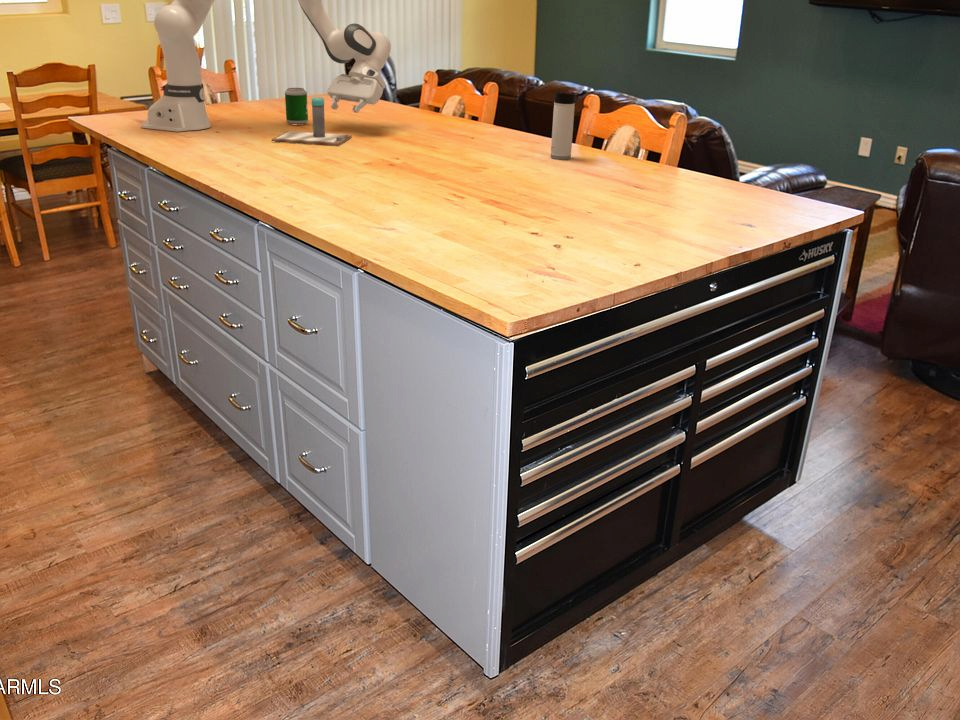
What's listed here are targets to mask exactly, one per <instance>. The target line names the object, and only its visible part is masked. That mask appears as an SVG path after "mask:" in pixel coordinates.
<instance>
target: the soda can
mask: <svg viewBox="0 0 960 720" xmlns="http://www.w3.org/2000/svg"><path fill="white" fill-rule="evenodd" d="M284 100H285V101H284V102H285V118H286V122H287V124H288V125H290V124H297V125H296V126H302V125H301V124H305V125H306V124H307V123H308V122H309V114H308V113H309V111H308V91H306V90H305V88H303V87H288V88H287V89H286V90H285V91H284ZM298 124H300V125H298Z"/></svg>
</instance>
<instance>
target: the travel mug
mask: <svg viewBox="0 0 960 720" xmlns="http://www.w3.org/2000/svg"><path fill="white" fill-rule="evenodd" d="M575 100H576V94H575V93H566V92H563V91H558V92H556V91H555V93H554V102H553V104H554V105H553V112H552V115H553V116H552V128H551V129H552V131H551V145H550V158H551V159H553V160H557V159H559V161H565V160H566V161H567V159H568V160H570V159H571V158H572V149H573V148H572V147H573V146H572V145H573V136H574V135H573V132H574V121H575V119H574V118H575V104H576V101H575Z"/></svg>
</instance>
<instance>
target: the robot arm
mask: <svg viewBox="0 0 960 720" xmlns="http://www.w3.org/2000/svg"><path fill="white" fill-rule="evenodd" d="M297 1H298V3H299V5H300V8H301V10H302V12H303V13H304V15H305V16H306V17H307V20H308V21H309V22H310V24H311V25H312V27H313V29H314V30H315V31H316V34H317V35H318V36H319V38H320V39H321V41H322V43H323V46H324V49H325V52H326V54H327V56H328V57H329V58H330V60H332V61H334V62H335V63H338V64H341V65H342V64H347V63H349V62H350V61H351V60H352V59H353V60H355V62H354V64H352V65H353V66H352V67H351V69H350V70H349V72H348V74H346V73H341V74H340V75H337V76H336V77H335V78H333V80H332V81H331V83H330V85H329V86H328V87H327V89H326V92H327V94H328V96H329V97H330V98H331V99H332V103H331V105H330V108H331V109H332V110H337V109H338V108H339V105H338V102H340V101H347V102H354V103H357V104H355V105H353V107H352V110H351V111H352V112H353V113H356V114H358V113H360V110H362V109H363V108H364V107H366V105H376V104H377V103H379V101H380V99H381V97H382V95H383V92H384V89H385V88H386V87H387V84H386V82H385V80H384V79H383V77H382V76H381V75H380V71H381V70H382V69H383V68H384V67H385V64H386V63H387V61H388V59H389V56H390V54H391V50H392V44H391V41H390V40H389V38H388V37H387V36H386V35H385V34H384V33H382V32H380V31H372V30H369V29H366V28H365V27H364V26H363V25H361V24H359V23H356V22H355V23H350V24H348V25H346V26H345V27H343V28H341V29H338V28H337V27H336V26H335V24H334V22H333V20H331V18H330V17H329V14H328V13H327V11H326V10H325V9H324V6H323V1H322V0H297ZM214 2H215V0H173V1H172V2H171V4H168V5H165V6H162V7H161V8H160V9H159V10H158V11H157V13H156V14H155V16H154V21H153V23H154V24H153V25H154V28H155V31H156V32H157V37H158V40H159V44H160V47H161V51H162V54H163V58H164V66H165V75H166V82H167V83H166V84H164V85H163V86H160V91H163V93H162V94H163V95H162V96H160V98H158V99H157V100H156V101H155V102H154V103H152V104H151V106H150V107H149V108H148V110H147V120H146V121H144V122H142V123H141V124H140V125H141V128H142V129H150V130H159V131H168V132H176V133H177V132H185V131H198V130H206V129H208V128H211V127H212V126H211V125H212V124H211V122H210V120H209V117H208V113H207V109H206V103H205V101H206V99H205V87H204V83H203V80H202V70H201V69H202V68H201V59H200V57H199V55H198V52H197V48H196V43H195V39H194V37H195V36H196V35H197V34H198V32H199V31H200V30H201V28H202V26H203V24H204V22H205V20H206V18H207V16H208V14H209V12H210V10H211V8H212V6H213V4H214Z"/></svg>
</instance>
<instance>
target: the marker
mask: <svg viewBox="0 0 960 720" xmlns="http://www.w3.org/2000/svg"><path fill="white" fill-rule="evenodd" d="M310 100H311V109H312V110H311V111H312V113H311V116H312V133H313V137H318V138H321V137H325V134H326V123H325V98H324V97H311V99H310Z"/></svg>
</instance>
